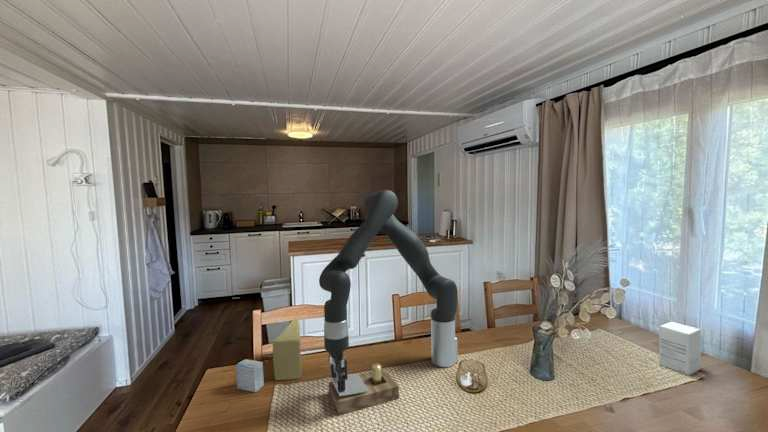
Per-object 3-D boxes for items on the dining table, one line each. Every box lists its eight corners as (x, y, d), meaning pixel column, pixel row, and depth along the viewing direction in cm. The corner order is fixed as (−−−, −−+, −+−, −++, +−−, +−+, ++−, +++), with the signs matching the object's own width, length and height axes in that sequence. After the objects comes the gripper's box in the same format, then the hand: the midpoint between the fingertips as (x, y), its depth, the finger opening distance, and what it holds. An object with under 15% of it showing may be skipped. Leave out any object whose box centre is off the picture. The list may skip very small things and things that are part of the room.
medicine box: (264, 386, 111) (263, 361, 110) (255, 393, 107) (254, 368, 106) (246, 382, 113) (245, 358, 113) (236, 389, 109) (235, 364, 109)
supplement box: (670, 358, 123) (670, 320, 123) (701, 369, 115) (701, 328, 115) (657, 364, 119) (658, 325, 119) (688, 376, 111) (689, 333, 111)
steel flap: (357, 376, 108) (357, 373, 108) (367, 392, 99) (367, 388, 99) (331, 379, 104) (331, 376, 104) (339, 396, 95) (339, 392, 95)
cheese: (285, 352, 135) (284, 318, 135) (309, 351, 136) (308, 316, 136) (273, 381, 113) (271, 340, 113) (301, 379, 114) (299, 338, 114)
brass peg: (379, 388, 107) (379, 362, 107) (383, 393, 105) (382, 367, 104) (371, 390, 106) (371, 364, 106) (374, 395, 104) (374, 369, 103)
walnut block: (384, 379, 113) (384, 368, 113) (398, 398, 102) (398, 386, 102) (328, 393, 105) (328, 381, 105) (338, 415, 94) (337, 402, 94)
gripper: (354, 339, 94) (356, 393, 95) (342, 323, 108) (343, 370, 108) (329, 344, 91) (331, 399, 92) (319, 327, 105) (321, 375, 105)
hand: (338, 383), depth 100 cm, fingers open, 8 cm apart
